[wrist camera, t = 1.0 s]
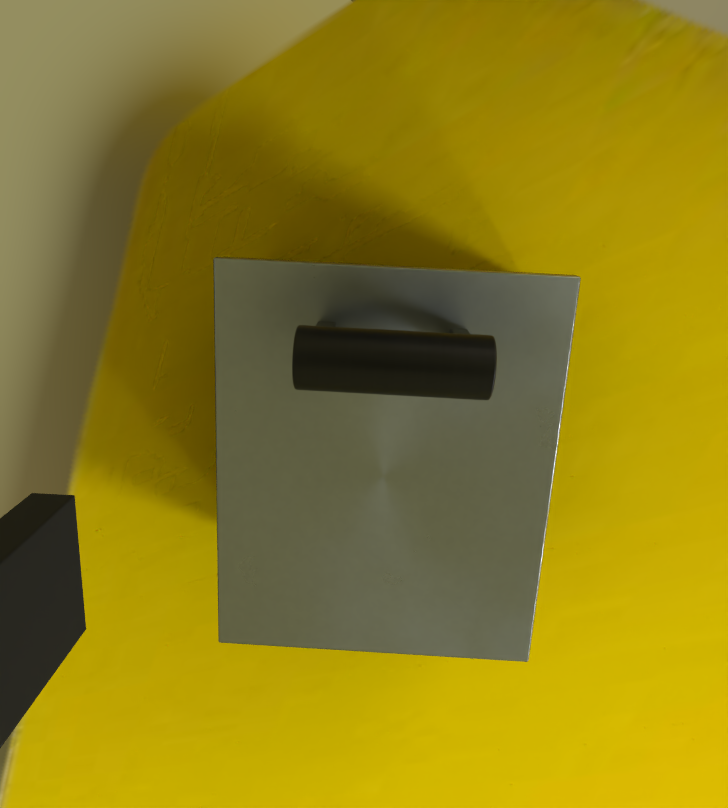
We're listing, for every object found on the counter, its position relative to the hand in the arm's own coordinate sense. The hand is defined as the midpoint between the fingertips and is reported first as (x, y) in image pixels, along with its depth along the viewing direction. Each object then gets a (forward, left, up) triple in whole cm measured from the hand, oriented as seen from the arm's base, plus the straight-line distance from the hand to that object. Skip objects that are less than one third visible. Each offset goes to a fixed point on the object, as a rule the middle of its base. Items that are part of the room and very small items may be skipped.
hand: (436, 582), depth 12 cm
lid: (+3, +3, -15) cm, 16 cm away
